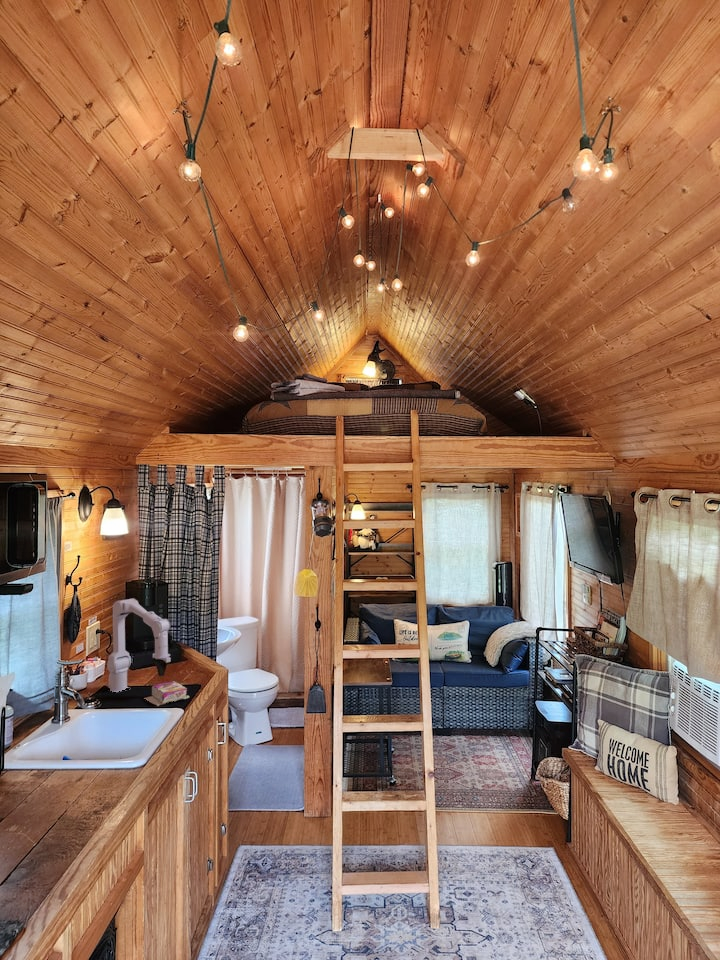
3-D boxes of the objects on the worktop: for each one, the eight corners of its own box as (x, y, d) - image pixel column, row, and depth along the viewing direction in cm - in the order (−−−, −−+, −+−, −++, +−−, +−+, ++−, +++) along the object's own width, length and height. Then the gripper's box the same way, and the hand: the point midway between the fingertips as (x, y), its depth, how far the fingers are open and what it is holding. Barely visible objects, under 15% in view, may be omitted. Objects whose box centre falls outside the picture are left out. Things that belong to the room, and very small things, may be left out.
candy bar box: (175, 680, 272) (187, 687, 259) (175, 690, 271) (187, 699, 258) (151, 684, 265) (162, 692, 252) (151, 695, 265) (162, 704, 252)
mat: (144, 699, 261) (144, 698, 261) (174, 691, 272) (174, 690, 272) (157, 705, 251) (157, 704, 251) (189, 697, 262) (189, 696, 262)
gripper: (176, 646, 264) (176, 676, 263) (162, 642, 275) (162, 671, 274) (162, 649, 259) (162, 679, 259) (148, 645, 270) (148, 674, 269)
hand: (161, 675), depth 266 cm, fingers closed
